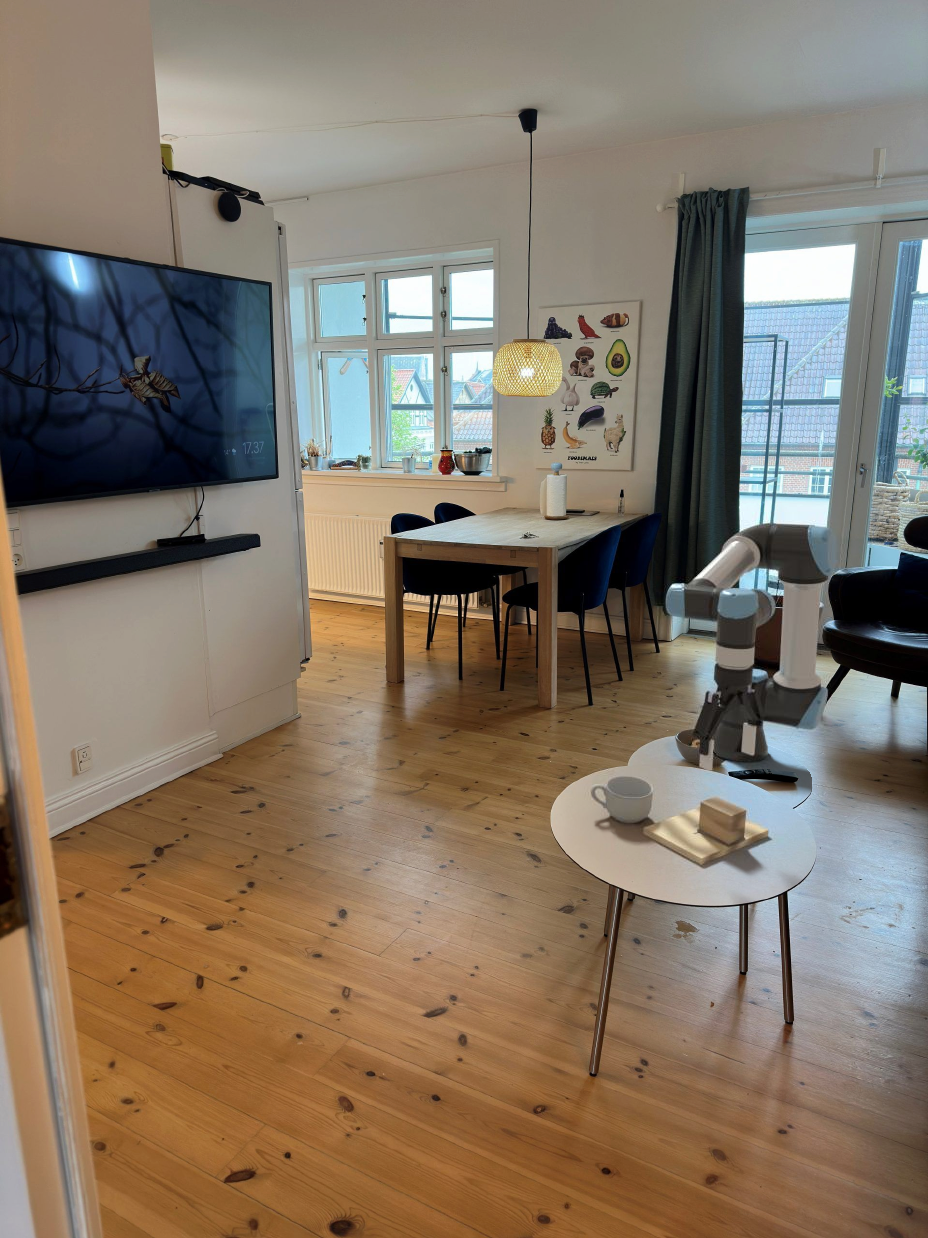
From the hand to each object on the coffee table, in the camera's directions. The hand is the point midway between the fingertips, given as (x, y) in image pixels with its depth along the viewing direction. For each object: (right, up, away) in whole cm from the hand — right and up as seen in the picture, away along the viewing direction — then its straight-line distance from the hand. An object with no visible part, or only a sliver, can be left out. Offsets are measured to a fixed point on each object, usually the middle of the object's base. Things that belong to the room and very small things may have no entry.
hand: (727, 760), depth 171 cm
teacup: (-19, -16, +16) cm, 30 cm away
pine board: (-2, -18, +7) cm, 19 cm away
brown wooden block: (0, -17, +4) cm, 17 cm away
